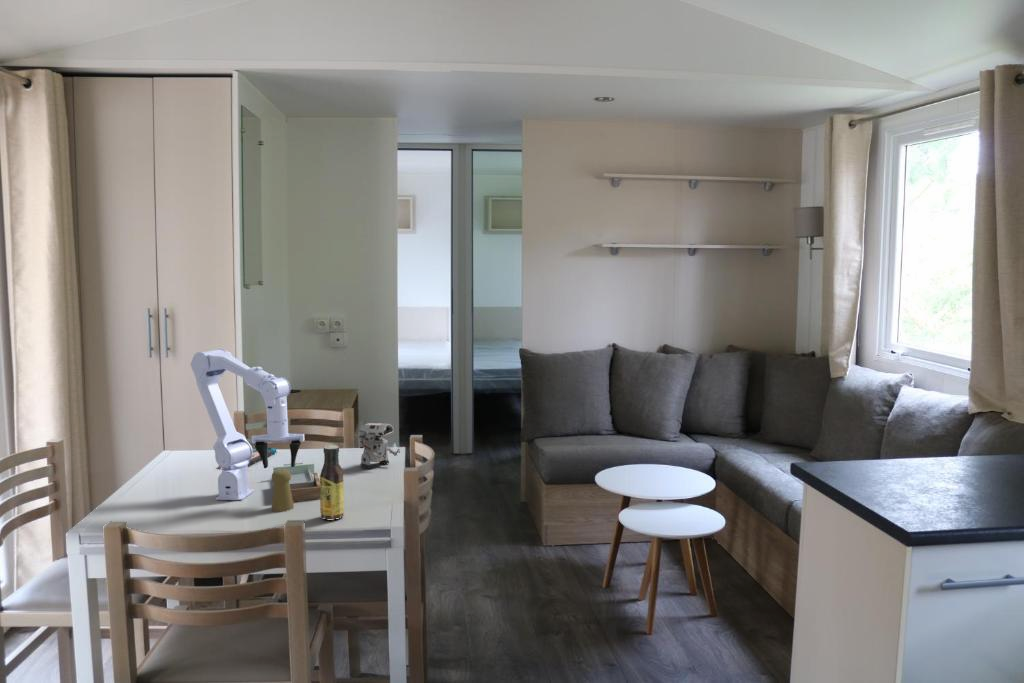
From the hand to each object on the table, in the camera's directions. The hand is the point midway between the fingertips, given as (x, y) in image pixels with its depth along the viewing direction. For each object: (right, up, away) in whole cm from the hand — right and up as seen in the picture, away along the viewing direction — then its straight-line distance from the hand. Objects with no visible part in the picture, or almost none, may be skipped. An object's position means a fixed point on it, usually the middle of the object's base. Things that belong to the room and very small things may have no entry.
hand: (279, 466), depth 227 cm
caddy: (+3, -9, +10) cm, 14 cm away
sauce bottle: (+18, -12, -13) cm, 26 cm away
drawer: (-1, -7, +20) cm, 21 cm away
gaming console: (-25, -6, +49) cm, 55 cm away
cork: (+2, -11, -5) cm, 12 cm away
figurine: (+22, -6, +38) cm, 45 cm away
